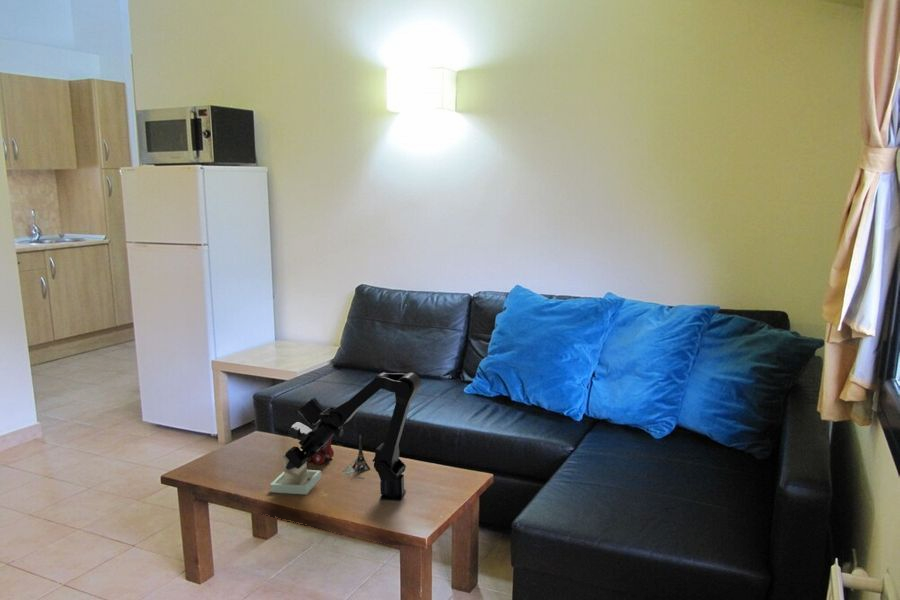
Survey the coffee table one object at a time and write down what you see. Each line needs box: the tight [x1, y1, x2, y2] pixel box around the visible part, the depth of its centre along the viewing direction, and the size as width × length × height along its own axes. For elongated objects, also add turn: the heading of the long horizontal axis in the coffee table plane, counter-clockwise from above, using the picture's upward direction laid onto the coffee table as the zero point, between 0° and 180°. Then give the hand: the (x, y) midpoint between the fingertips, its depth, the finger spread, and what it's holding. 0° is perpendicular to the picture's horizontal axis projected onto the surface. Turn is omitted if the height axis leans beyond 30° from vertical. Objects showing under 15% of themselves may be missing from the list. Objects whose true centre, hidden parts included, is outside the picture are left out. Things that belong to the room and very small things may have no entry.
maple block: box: [282, 448, 308, 485], centre depth 214 cm, size 5×6×11 cm
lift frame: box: [269, 469, 322, 495], centre depth 214 cm, size 12×12×2 cm
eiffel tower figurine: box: [341, 435, 372, 479], centre depth 226 cm, size 15×10×13 cm
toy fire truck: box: [300, 436, 335, 465], centre depth 234 cm, size 7×12×10 cm, turn 64°
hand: (291, 464), depth 214 cm, fingers closed on maple block, 5 cm apart
